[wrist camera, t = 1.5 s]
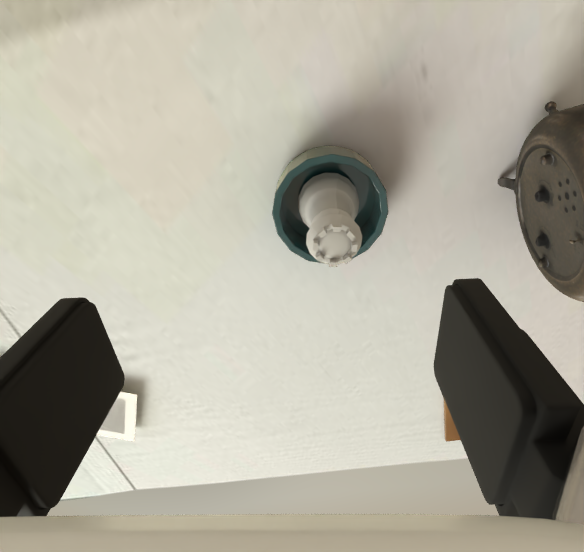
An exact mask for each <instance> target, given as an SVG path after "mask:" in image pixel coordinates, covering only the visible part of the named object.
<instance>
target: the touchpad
mask: <svg viewBox="0 0 584 552" xmlns="http://www.w3.org/2000/svg"><path fill="white" fill-rule="evenodd" d="M136 408H137V394H132V393H126V392H120V393H119V395H118V397H117V399H116V401H115V402H114V404H113V406H112V408H111V410H110V411H109V413H108V415H107V417H106V418H105V420H104V422H103V424H102V426H101V427H100V429H99V431H98V433H97V435H100V436H106V437H111V438H117V439H122V440H128V441H133V442H135V427H136Z"/></svg>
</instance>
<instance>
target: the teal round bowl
mask: <svg viewBox="0 0 584 552" xmlns="http://www.w3.org/2000/svg"><path fill="white" fill-rule="evenodd" d="M322 173H338V174H340V175H342V176H344V177H346V178H348V179H349V180H350V181H351V183H352V184H353V185H354V186H355V187H356V191H357V194H358V198H359V208H358V214H357V216H356V218H355V220H354V221H355V223H356V224H357V225H358V226H359V227H360V231H361V234H362V242H361V247H360V249H359V250H358V252H357V254H356V255H355V256H354V257H356V256H358V255H360V254H361V253H363V252H365V251H366V250H368V249H369V248H370V246H371V245H372V244H373V243H374V242H375V240H376V239H377V238H378V237H379V236H380V234H381V233H382V230H383V227H384V224H385V221H386V218H387V215H388V205H387V195H386V190H385V188H384V186H383V185H382V183H381V181H380V180H379V178H378V176H377V175H376V173H375V171H374V170H373V168H372V166H371V165H370V163H369V162H368V161H367V160H366V159H364V158H363V157H362V156H360V155H359V154H357V153H356V152H354V151H353V150H350V149H347V148H344V147H340V146H321V147H316V148H313V149H310V150H308V151H306V152H304V153H302V154H300V155H299V156H297V157H296V158H295V159H294V160H293V161H292V162H290V163H289V164H288V166H287V167H286V169H285V170H284V172H283V174H282V175H281V177H280V179H279V180H278V183H277V188H276V192H275V198H274V205H273V211H272V215H273V219H274V223H275V227H276V230H277V234H278V235H279V237H280V238H281V239H282V241H283V242H284V243H285V244H286V246H287V247H288V248H289V250H291V251H292V252H294V253H296V254H297V255H299V256H301V257H302V258H304V259H306V260H308V261H313V262H319V261H318V260H316V259H315V258H314V257H313V256H312V255H311V254H310V252H309V250H308V247H307V245H306V239H307V233H308V231H309V229H310V228H309V227H308V226H307V225H306V224H305V223H304V222H303V220H302V218H301V215H300V213H299V208H298V201H299V194H300V192H301V190H302V188H303V186H304V184H306V183H307V182H308V181H309V180H310V179H311V178H312V177H314V176H317V175H320V174H322ZM354 257H352V259H353V258H354ZM319 263H320V262H319Z"/></svg>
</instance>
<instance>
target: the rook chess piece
mask: <svg viewBox="0 0 584 552" xmlns="http://www.w3.org/2000/svg"><path fill="white" fill-rule="evenodd" d="M298 208H299V213H300V215H301V218H302V220H303V222H304V223H305V224H306V225H307V226H308V227H309V228H310V229H309V231H308V233H307V239H306V245H307V247H308V250H309V252H310V254H311V255H312V256H313V257H314V258H315V259H316V260H318V261H319V262H320V263H325V264H329V267H337V264H341V263H345V264H347V263H348V262H350V261H351V260H352V257H354V256H355V255H356V254H357V252H358V250H359V249H360V247H361V242H362V234H361V231H360V227H359V226H358V225H357V224H356V223H355V221H354V220H355V218H356V216H357V214H358V208H359V198H358V194H357V191H356V187H355V186H354V185H353V184H352V183H351V181H350V180H349V179H348V178H346V177H344V176H342V175H340V174H338V173H322V174H320V175H317V176H314V177H312V178H311V179H310V180H309V181H308V182H307V183H306V184H304V186H303V188H302V190H301V192H300V194H299V201H298Z"/></svg>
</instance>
